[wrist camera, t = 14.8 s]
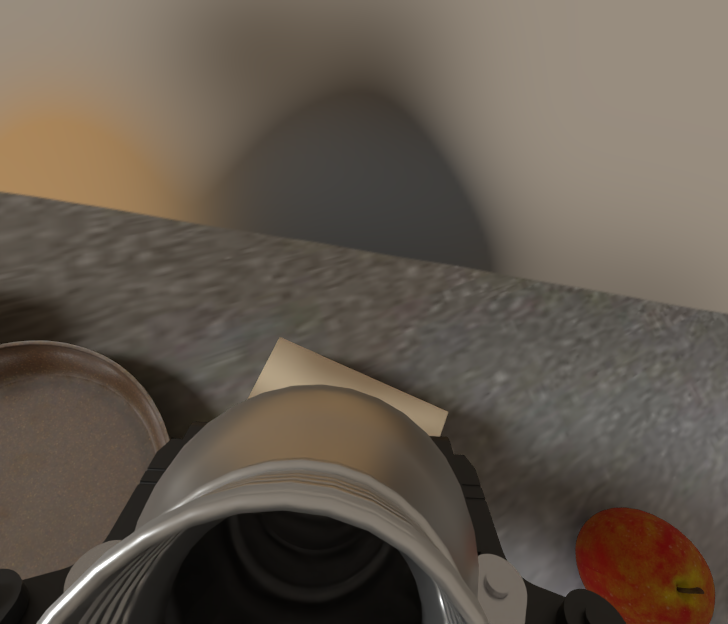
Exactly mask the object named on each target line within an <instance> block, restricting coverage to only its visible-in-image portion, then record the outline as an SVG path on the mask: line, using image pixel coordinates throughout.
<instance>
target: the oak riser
mask: <svg viewBox="0 0 728 624" xmlns="http://www.w3.org/2000/svg"><path fill="white" fill-rule="evenodd" d="M320 384H323V385H330V386H337V387H343V388H350V389H354V390H357V391H359V392H362V393H365V394H368V395H371V396H374V397H376V398H379V399H381V400H382V401H384V402H386V403H388V404H389V405H391V406H393V407H394V408H396V409H398V410H399V411H401V412H403V413H404V414H406V415H407V416H408V417H409V418H410V419H411V420H412V421H414V422H415V423H416V424H417V425H418V426H419V427H420V428H422V429H423V430H424V431H425V432H426V433H427V434H428V435H429V436H440V435H441V432H442V429H443V426H444V423H445V420H446V417H447V415H448V412H447V411H445V410H443V409H441V408H438V407H436V406H434V405H432V404H429V403H427V402H425V401H423V400H420V399H418V398H416V397H414V396H411V395H409V394H407V393H405V392H402V391H400V390H398V389H396V388H393V387H391V386H389V385H387V384H384V383H382V382H380V381H378V380H375V379H373V378H371V377H369V376H366V375H364V374H362V373H360V372H357V371H355V370H353V369H350V368H348V367H346V366H344V365H341V364H339V363H337V362H335V361H332V360H330V359H328V358H326V357H323V356H321V355H319V354H317V353H314V352H312V351H310V350H308V349H305V348H303V347H301V346H299V345H296V344H294V343H292V342H290V341H287V340H285V339H283V338H281V337H280V338H279V340H278V342H277V344H276V345H275V347H274V349H273V351H272V353H271V355H270V357H269V359H268V361H267V363H266V365H265V367H264V369H263V371H262V373H261V375H260V376H259V378H258V380H257V382H256V384H255V386H254V388H253V390H252V392H251V394H250V396H249V398H248V399H250V398H252V397H254V396H257V395H259V394H261V393H263V392H268V391H272V390H276V389H281V388H285V387H289V386H296V385H320Z"/></svg>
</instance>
